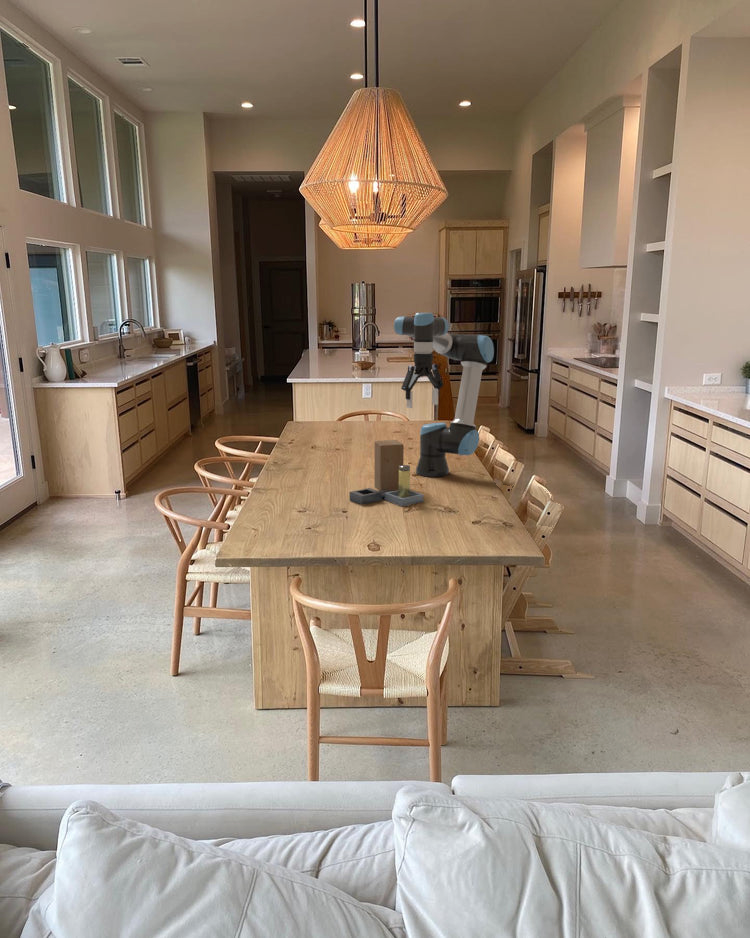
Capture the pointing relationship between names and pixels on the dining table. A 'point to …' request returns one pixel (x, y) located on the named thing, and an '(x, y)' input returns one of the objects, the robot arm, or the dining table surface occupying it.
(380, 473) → the wooden block
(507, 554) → the dining table surface
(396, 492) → the tray
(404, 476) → the pin
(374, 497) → the bar
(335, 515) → the dining table surface
